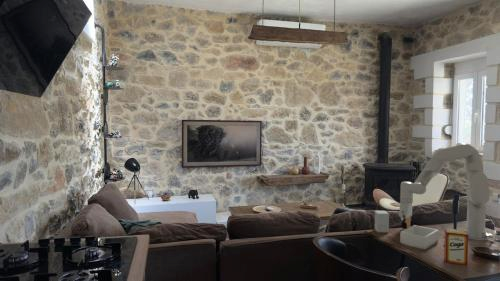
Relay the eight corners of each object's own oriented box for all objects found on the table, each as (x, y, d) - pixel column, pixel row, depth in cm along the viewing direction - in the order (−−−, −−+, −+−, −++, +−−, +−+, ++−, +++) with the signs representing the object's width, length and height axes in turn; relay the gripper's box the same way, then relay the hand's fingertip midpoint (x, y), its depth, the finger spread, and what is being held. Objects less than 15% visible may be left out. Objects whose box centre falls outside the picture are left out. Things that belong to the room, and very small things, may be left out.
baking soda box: (465, 260, 177) (465, 230, 176) (467, 265, 171) (468, 233, 170) (444, 257, 180) (444, 228, 180) (445, 262, 174) (446, 231, 174)
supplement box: (385, 229, 230) (385, 210, 229) (389, 232, 222) (389, 213, 222) (374, 229, 231) (374, 210, 230) (377, 232, 223) (377, 213, 223)
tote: (414, 236, 216) (414, 225, 216) (438, 241, 206) (438, 230, 205) (400, 243, 202) (400, 231, 202) (425, 249, 192) (425, 237, 192)
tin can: (411, 229, 228) (411, 215, 228) (408, 231, 225) (408, 216, 225) (403, 228, 232) (404, 213, 232) (400, 229, 229) (400, 215, 228)
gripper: (406, 197, 236) (405, 223, 237) (395, 201, 225) (394, 228, 226) (417, 199, 231) (417, 225, 232) (406, 203, 219) (406, 231, 220)
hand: (405, 226), depth 229 cm, fingers closed on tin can, 5 cm apart
